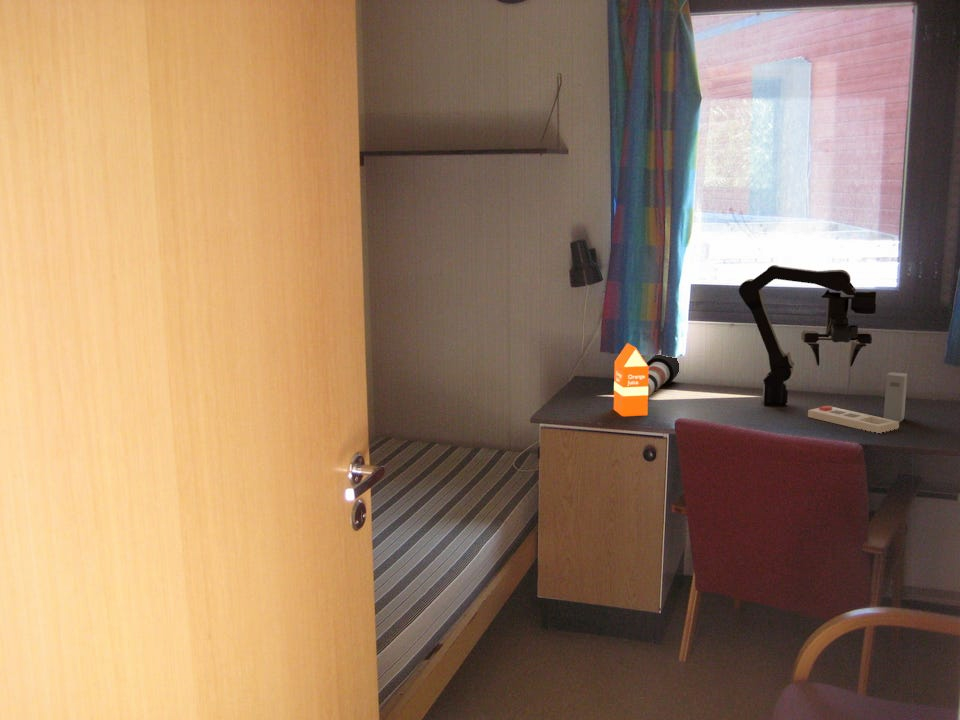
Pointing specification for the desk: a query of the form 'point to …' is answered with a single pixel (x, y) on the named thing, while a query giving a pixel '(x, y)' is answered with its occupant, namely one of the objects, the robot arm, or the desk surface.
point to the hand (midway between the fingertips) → (834, 366)
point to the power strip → (853, 419)
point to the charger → (895, 396)
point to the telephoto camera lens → (661, 372)
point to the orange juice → (630, 383)
